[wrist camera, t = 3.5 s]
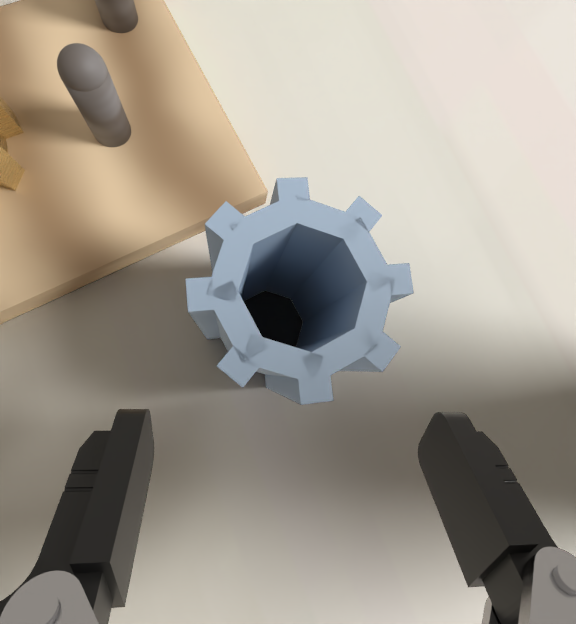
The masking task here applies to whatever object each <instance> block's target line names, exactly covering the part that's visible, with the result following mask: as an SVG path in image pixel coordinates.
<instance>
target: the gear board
mask: <svg viewBox="0 0 576 624" xmlns="http://www.w3.org/2000/svg"><path fill="white" fill-rule="evenodd" d="M0 97H1V98H2V99H3V100H4V101H5V103H6V104H7V105H8V106H9V107H10V109H11V110H12V111H13V112H14V114H15V116H16V118H17V120H18V122H19V123H20V125H21V127H22V129H23V131H24V133H22V134H19V135H17V136H14V137H11V138H9V139H6V141H7V147H8V154H9V155H10V156H11V157H12V158H13V159H14V160H15V161H16V162H17V163H18V164H19V165H20V166H21V167H22V168H23V169H24V170H25V172H24V174H23V176H22V178H21V180H20V183H19V185H18V187H17V189H16V191H14V190H11V189H8V188H5V187H2V186H0V324H2V323H4V322H6V321H8V320H11V319H13V318H15V317H17V316H19V315H21V314H24V313H26V312H28V311H30V310H32V309H35V308H37V307H39V306H41V305H43V304H46V303H48V302H50V301H52V300H54V299H56V298H59V297H61V296H63V295H65V294H67V293H70V292H72V291H74V290H76V289H78V288H81V287H83V286H85V285H87V284H89V283H92V282H94V281H96V280H98V279H100V278H102V277H105V276H107V275H109V274H111V273H113V272H116V271H118V270H120V269H122V268H124V267H127V266H129V265H131V264H133V263H135V262H138V261H140V260H142V259H144V258H146V257H148V256H151V255H153V254H155V253H157V252H159V251H162V250H164V249H166V248H168V247H170V246H173V245H175V244H177V243H179V242H181V241H183V240H186V239H188V238H190V237H192V236H194V235H197V234H199V233H201V232H203V231H205V230H206V229H205V223H206V222H207V221H208V220H209V219H210V218H211V217H212V215H213V214H214V213H215V212H216V211H217V210H218V209H219V208H220V207H221V206H222V205H223V204H224V203H225V202H226V201H227V202H228V203H229V204H230V205H231V206H233V207H234V208H235V209H236V210H237V211H239V212H240V213H241V214H243V213H245V212H247V211H249V210H251V209H254V208H256V207H258V206H260V205H262V204H264V203H265V201H266V197H267V192H268V191H267V189H266V187H265V185H264V183H263V182H262V180H261V178H260V176H259V174H258V172H257V171H256V169H255V167H254V165H253V163H252V161H251V160H250V158H249V156H248V154H247V152H246V150H245V149H244V147H243V145H242V143H241V141H240V139H239V138H238V136H237V134H236V132H235V130H234V128H233V127H232V125H231V123H230V121H229V119H228V117H227V116H226V114H225V112H224V110H223V108H222V106H221V105H220V103H219V101H218V99H217V97H216V95H215V94H214V92H213V90H212V88H211V86H210V84H209V83H208V81H207V79H206V77H205V75H204V73H203V72H202V70H201V68H200V66H199V64H198V62H197V61H196V59H195V57H194V55H193V53H192V51H191V50H190V48H189V46H188V44H187V42H186V40H185V39H184V37H183V35H182V33H181V31H180V29H179V28H178V26H177V24H176V22H175V20H174V18H173V17H172V15H171V13H170V11H169V9H168V7H167V6H166V4H165V2H164V0H21V1H17V2H14V3H11V4H7V5H4V6H1V7H0Z"/></svg>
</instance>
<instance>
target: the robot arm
mask: <svg viewBox="0 0 576 624" xmlns="http://www.w3.org/2000/svg"><path fill="white" fill-rule="evenodd" d="M153 457H154V440H153V432H152V424H151V416H150V411H149V409H119V410H118V412H117V414H116V416H115V419H114V423H113V426H112V429H111V431H94V432H93V433H92V435H91V436H90V437H89V438H88V439H87V440H86V442H85V443H84V444H83V445H82V446H81V447H80V449H79V451H78V453H77V456H76V459H75V461H74V464H73V467H72V469H71V474H70V475H69V478H68V480H67V483H66V486H65V491H64V492H63V494H62V496H61V499H60V502H59V504H58V507H57V510H56V512H55V515H54V518H53V520H52V523H51V526H50V528H49V531H48V534H47V537H46V539H45V542H44V545H43V547H42V550H41V553H40V555H39V558H38V560H37V562H36V565H35V567H34V568H33V570H32V572H31V573H30V575H29V576H28V577H27V579H26V580H25V581H24V582H23V583H22V584H21V585H20V587H19V588H17V589H16V590H15V591H14V592H13V593H12V594H11V595H9V596H8V597H6V598H5V599H4V600H2V601H0V624H108V621H109V617H110V612H111V608H114V607H125V602H126V597H127V592H128V587H129V582H130V577H131V572H132V567H133V562H134V557H135V552H136V547H137V542H138V537H139V532H140V526H141V521H142V516H143V511H144V506H145V501H146V496H147V491H148V486H149V481H150V476H151V471H152V465H153ZM418 458H419V463H420V466H421V468H422V471H423V473H424V476H425V478H426V481H427V484H428V486H429V489H430V491H431V494H432V496H433V499H434V501H435V504H436V506H437V509H438V511H439V514H440V517H441V519H442V522H443V524H444V527H445V529H446V532H447V534H448V537H449V539H450V542H451V545H452V547H453V550H454V552H455V555H456V557H457V560H458V562H459V565H460V567H461V570H462V572H463V575H464V578H465V580H466V583H467V585H468V587H479V586H485V588H486V591H487V593H488V595H489V597H488V598H487V600H486V603H485V607H484V613H483V619H482V624H576V557H575V556H573V555H572V554H570V553H569V552H567V551H565V550H563V549H560V548H558V547H557V546H556V544H555V543H554V541H553V540H552V538H551V537H550V535H549V533H548V532H547V530H546V528H545V527H544V525H543V523H542V522H541V520H540V518H539V516H538V515H537V513H536V511H535V510H534V508H533V506H532V505H531V503H530V501H529V499H528V498H527V496H526V494H525V493H524V491H523V489H522V487H521V486H520V484H519V483H517V479H516V477H515V476H514V474H513V472H512V470H511V469H509V468H508V464H507V462H506V460H505V459H504V457H503V455H502V453H501V452H500V450H499V448H498V447H497V446H496V445H495V444H494V443H493V442H492V441H491V440H490V439H489V438H488V437H487V436H486V435H485V434H484V433H483V432H476V430H475V428H474V427H473V425H472V423H471V421H470V419H469V418H468V417H467V415H466V414H464V413H460V412H438V413H435V414H434V416H433V418H432V419H431V421H430V423H429V425H428V427H427V429H426V431H425V433H424V435H423V437H422V439H421V441H420V443H419V446H418Z"/></svg>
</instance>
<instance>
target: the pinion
mask: <svg viewBox="0 0 576 624" xmlns="http://www.w3.org/2000/svg"><path fill="white" fill-rule="evenodd" d="M381 216H382V215H381V214H380V213H379V212H378V211H377V210H375V209H374V208H373V207H372V206H371V205H369V204H368V203H367V202H366V201H365V200H364V199H362V198H361V197H360V196H358V198H357V199H356V200H355V201H354V202H353V204H352V205H351V206H350V207H349V208H348V210H347V211H346V212H344V211H341V210H338V209H335V208H332V207H330V206H327V205H324V204H321V203H318V202H315V201H312V200H310V196H309V188H308V179H307V177H305V178H277V179H276V183H275V187H274V191H273V195H272V199H271V203H270V205H269V206H267V207H265V208H263V209H260V210H258V211H256V212H254V213H252V214H250V215H247V216H243V215H242V214H241V213H240V212H239V211H237V210H236V209H235V208H234V207H233V206H231V205H230V204H229V203H228V202H227V201H226V202H225V203H224V204H223V205H222V206H221V207H220V208H219V209H218V210H217V211H216V212H215V213H214V214H213V215H212V217H211V218H210V219H209V220H208V221H207V222H206V223H205V229H206V235H207V242H208V248H209V254H210V260H211V266H212V276H211V277H202V278H187V279H186V292H187V305H188V313H189V314H190V315H191V317H192V318H193V320H194V321H195V323H196V324H197V325H198V327H199V328H200V330H201V331H202V333H203V334H204V335H205V337H206V338H207V339H217V338H221V340H222V341H223V343H224V345H225V347H226V349H227V351H228V353H227V354H226V355H225V356H224V357H223V359H222V360H221V361H220V362H219V363H218V365H217V367H218V368H219V369H221V370H222V371H223V372H224V373H225V374H227V375H228V376H229V377H230V378H232V379H233V380H234V381H235V382H236V383H238V384H239V385H240V386H241V387H242V388H243V387H244V386H245V384H246V383H247V382H248V381H249V380H250V378H251V377H252V376H253V375H254V373H255V372H259V373H262V374H265V382H266V388H268V389H270V390H272V391H274V392H276V393H278V394H280V395H282V396H284V397H286V398H288V399H290V400H292V401H294V402H296V403H298V404H300V405H303V404H311V403H319V402H327V401H333V392H332V384H331V375H332V374H334V373H336V372H337V371H369V372H383V371H384V369H385V368H386V366H387V365H388V364H389V362H390V361H391V360H392V358H393V357H394V355H395V354H396V353H397V351H398V350H399V349H400V347H401V346H399V345H398V344H397V343H396V342H395V341H393V340H392V339H391V338H390V337H389V336H387V335H386V334H385V333H384V332H383V328H384V324H385V319H386V315H387V311H388V307H389V303H391V302H394V301H396V300H398V299H401V298H403V297H406V296H408V295H411V294H413V293H414V292H413V285H412V279H411V272H410V265H409V263H404V264H390V265H387V263H386V261H385V260H384V258H383V256H382V254H381V252H380V251H379V249H378V247H377V245H376V243H375V242H374V240H373V238H372V236H371V235H370V233H369V231H370V230H371V229H372V228H373V226H374V225H375V224H376V223H377V221H378V220H379V219H380V218H381ZM263 291H268V292H271V293H274V294H277V295H280V296H283V297H287V298H290V299H291V301H292V303H293V305H294V306H295V308H296V310H297V312H298V314H299V316H300V318H301V319H302V321H303V323H302V327H301V330H300V334H299V337H298V341H297V344H296V347H293V346H290V345H287V344H283V343H280V342H277V341H274V340H270V339H267V338H264V337H262V335H261V333H260V332H259V330H258V328H257V326H256V324H255V322H254V320H253V318H252V317H251V315H250V313H249V311H248V309H247V307H246V305H245V303H244V301H246V300H248V299H250V298H252V297H254V296H256V295H258V294H260V293H262V292H263Z"/></svg>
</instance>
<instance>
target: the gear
mask: <svg viewBox="0 0 576 624" xmlns="http://www.w3.org/2000/svg"><path fill="white" fill-rule="evenodd" d="M22 133H24V131H23V129H22V127H21V125H20V123H19V122H18V120H17V118H16V116H15V114H14V112H13V111H12V110H11V109H10V107H9V106H8V105H7V104H6V103H5V101H4V100H3V99H2V98H1V97H0V186H2V187H5V188H8V189H11V190H14V191H16V189H17V187H18V185H19V183H20V180H21V178H22V176H23V174H24V172H25V170H24V169H23V168H22V167H21V166H20V165H19V164H18V163H17V162H16V161H15V160H14V159H13V158H12V157H11V156H10V155H9V154H8V147H7V141H6V139H9V138H11V137H14V136H17V135H19V134H22Z"/></svg>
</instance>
